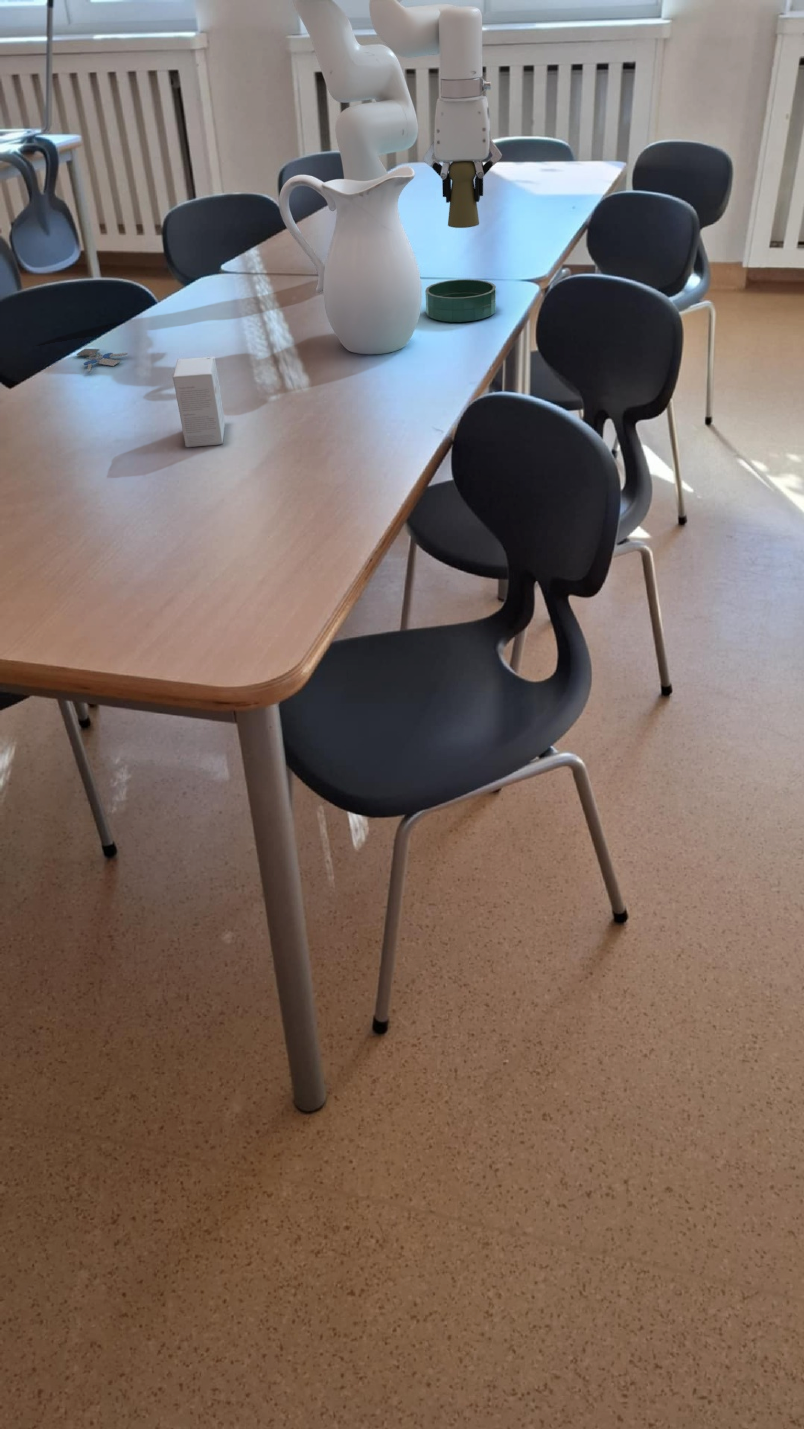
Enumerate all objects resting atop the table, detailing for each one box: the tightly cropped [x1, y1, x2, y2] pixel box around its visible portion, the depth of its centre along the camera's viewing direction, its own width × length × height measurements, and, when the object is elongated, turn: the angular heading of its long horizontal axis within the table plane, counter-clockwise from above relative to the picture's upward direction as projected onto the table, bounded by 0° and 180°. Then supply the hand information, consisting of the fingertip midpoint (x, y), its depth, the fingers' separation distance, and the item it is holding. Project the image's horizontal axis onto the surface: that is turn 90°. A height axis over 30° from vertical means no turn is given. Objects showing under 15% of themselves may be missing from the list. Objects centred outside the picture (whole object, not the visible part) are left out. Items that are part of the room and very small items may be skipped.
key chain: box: [76, 348, 128, 373], centre depth 190 cm, size 14×8×1 cm, turn 23°
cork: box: [447, 161, 480, 229], centre depth 200 cm, size 6×6×11 cm
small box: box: [172, 356, 226, 448], centre depth 155 cm, size 8×6×10 cm
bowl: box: [424, 278, 497, 323], centre depth 201 cm, size 13×13×4 cm
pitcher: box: [278, 165, 423, 355], centre depth 182 cm, size 24×17×28 cm
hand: (463, 199), depth 200 cm, fingers closed on cork, 4 cm apart
